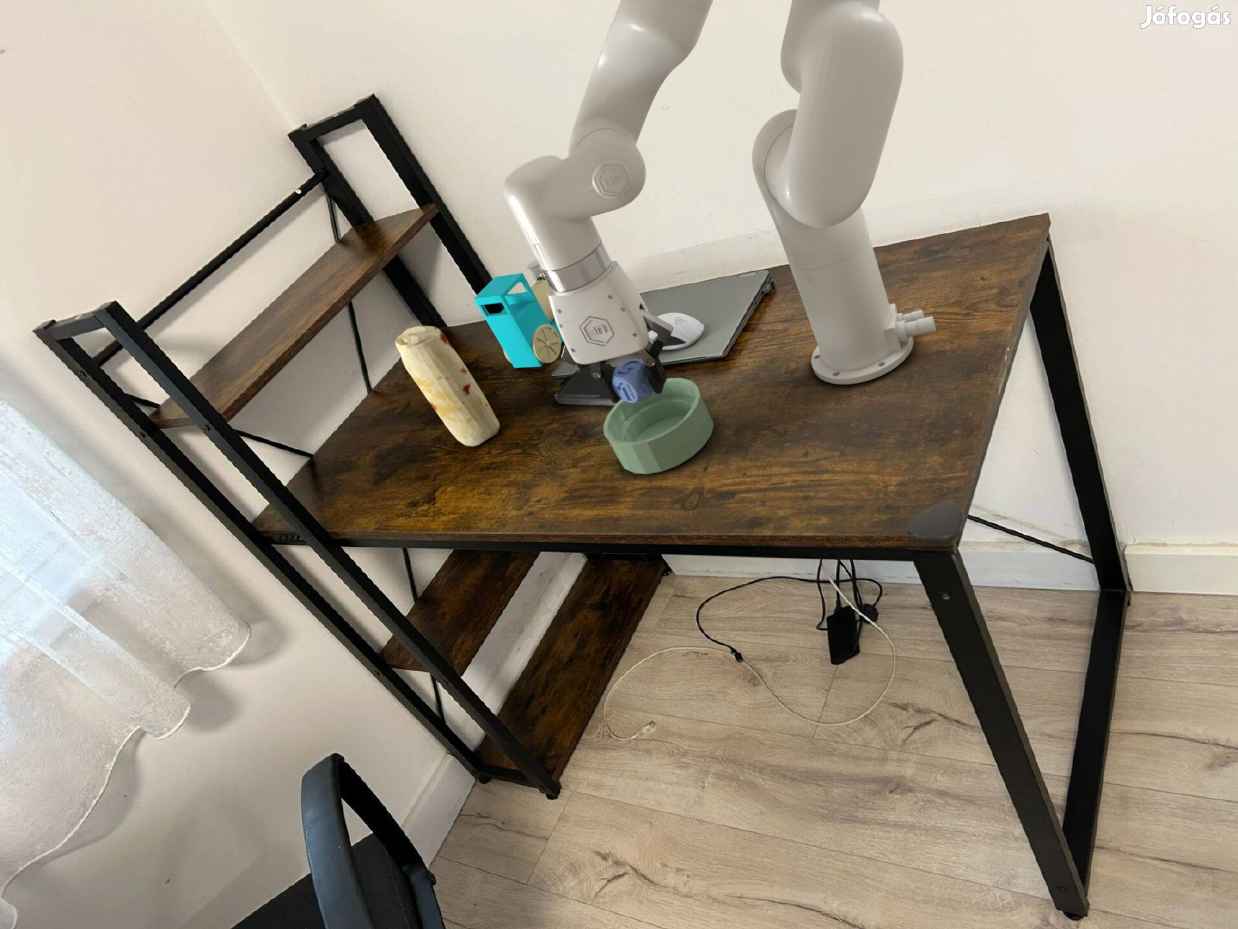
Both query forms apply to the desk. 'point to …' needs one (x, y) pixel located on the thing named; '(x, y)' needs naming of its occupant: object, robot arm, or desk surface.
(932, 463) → the desk surface
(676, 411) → the bowl
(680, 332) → the computer mouse
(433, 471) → the desk surface
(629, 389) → the decorative dice
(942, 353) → the desk surface
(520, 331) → the toy train
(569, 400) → the phone
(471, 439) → the food model
